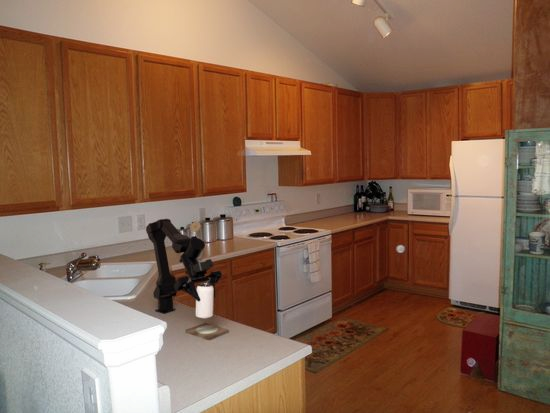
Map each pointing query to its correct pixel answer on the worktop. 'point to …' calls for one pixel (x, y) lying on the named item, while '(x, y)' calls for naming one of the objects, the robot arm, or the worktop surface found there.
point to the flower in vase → (195, 227)
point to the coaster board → (207, 331)
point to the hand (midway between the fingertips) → (207, 299)
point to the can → (205, 300)
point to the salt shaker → (200, 257)
